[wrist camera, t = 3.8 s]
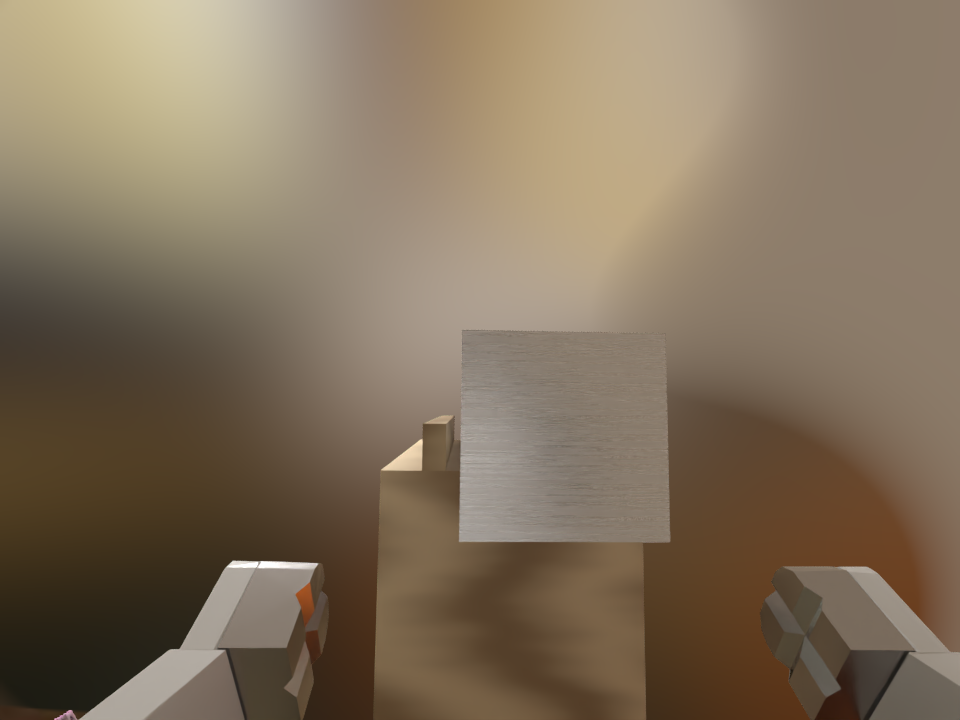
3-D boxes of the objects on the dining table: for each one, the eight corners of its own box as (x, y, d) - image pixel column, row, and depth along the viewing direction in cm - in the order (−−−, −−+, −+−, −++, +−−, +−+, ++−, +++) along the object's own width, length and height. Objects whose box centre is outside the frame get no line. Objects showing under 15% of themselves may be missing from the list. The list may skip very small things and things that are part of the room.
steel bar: (459, 541, 8) (462, 330, 8) (462, 440, 32) (463, 386, 32) (670, 542, 8) (665, 333, 9) (516, 441, 32) (517, 387, 32)
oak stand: (353, 1372, 15) (382, 423, 17) (411, 868, 31) (421, 415, 33) (657, 1357, 15) (640, 425, 17) (557, 866, 31) (556, 416, 33)
